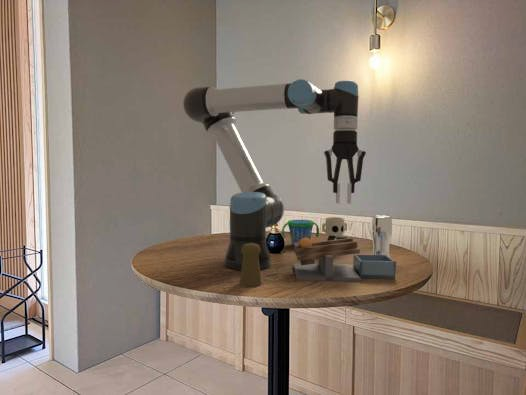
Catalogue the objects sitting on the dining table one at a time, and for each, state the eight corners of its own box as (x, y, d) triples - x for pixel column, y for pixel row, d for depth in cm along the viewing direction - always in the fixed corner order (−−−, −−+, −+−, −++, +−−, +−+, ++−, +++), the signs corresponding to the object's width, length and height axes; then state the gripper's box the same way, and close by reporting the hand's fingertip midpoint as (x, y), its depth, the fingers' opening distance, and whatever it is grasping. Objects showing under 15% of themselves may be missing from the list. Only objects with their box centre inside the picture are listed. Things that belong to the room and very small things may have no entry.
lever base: (297, 280, 112) (297, 255, 111) (293, 266, 128) (294, 245, 127) (360, 281, 112) (361, 256, 111) (349, 267, 127) (350, 245, 127)
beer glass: (392, 261, 137) (393, 218, 136) (371, 260, 139) (372, 217, 137) (389, 256, 144) (391, 216, 143) (370, 255, 145) (371, 215, 144)
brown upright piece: (261, 280, 111) (261, 241, 110) (261, 286, 105) (262, 246, 104) (239, 280, 111) (240, 241, 110) (239, 286, 105) (239, 245, 104)
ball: (300, 253, 117) (298, 240, 117) (299, 250, 121) (297, 238, 121) (313, 250, 117) (311, 237, 117) (312, 248, 121) (310, 235, 121)
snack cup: (283, 248, 158) (284, 222, 157) (279, 243, 168) (280, 219, 167) (322, 247, 159) (322, 222, 158) (315, 243, 170) (316, 219, 169)
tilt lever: (298, 267, 114) (296, 248, 113) (294, 252, 133) (292, 236, 133) (360, 259, 113) (358, 240, 113) (347, 246, 133) (345, 230, 133)
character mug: (326, 254, 146) (327, 219, 145) (317, 251, 153) (317, 217, 152) (351, 252, 150) (352, 218, 149) (341, 249, 157) (342, 216, 156)
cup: (359, 278, 115) (360, 261, 115) (353, 270, 124) (353, 254, 124) (395, 278, 115) (395, 261, 114) (385, 270, 124) (386, 254, 124)
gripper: (321, 129, 124) (320, 203, 125) (373, 129, 124) (370, 204, 125) (318, 131, 131) (317, 201, 133) (367, 132, 131) (365, 202, 133)
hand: (343, 203), depth 129 cm, fingers open, 3 cm apart
